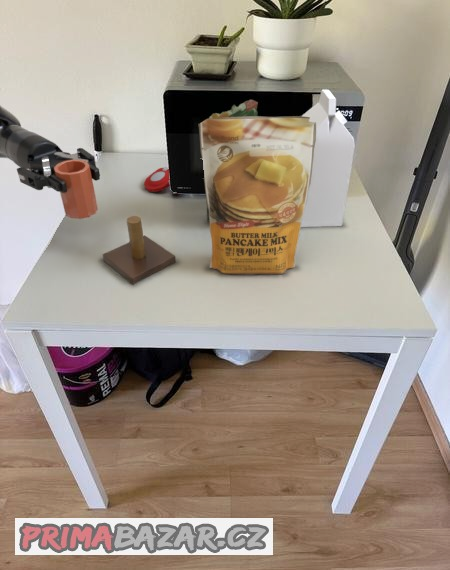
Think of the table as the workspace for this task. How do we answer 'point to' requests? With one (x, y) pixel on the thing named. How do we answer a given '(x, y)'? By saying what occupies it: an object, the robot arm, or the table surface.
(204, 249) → the table surface
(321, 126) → the milk
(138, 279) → the ring stand
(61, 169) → the faceted terracotta cup
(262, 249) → the pancake mix bag
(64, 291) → the table surface
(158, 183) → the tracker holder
